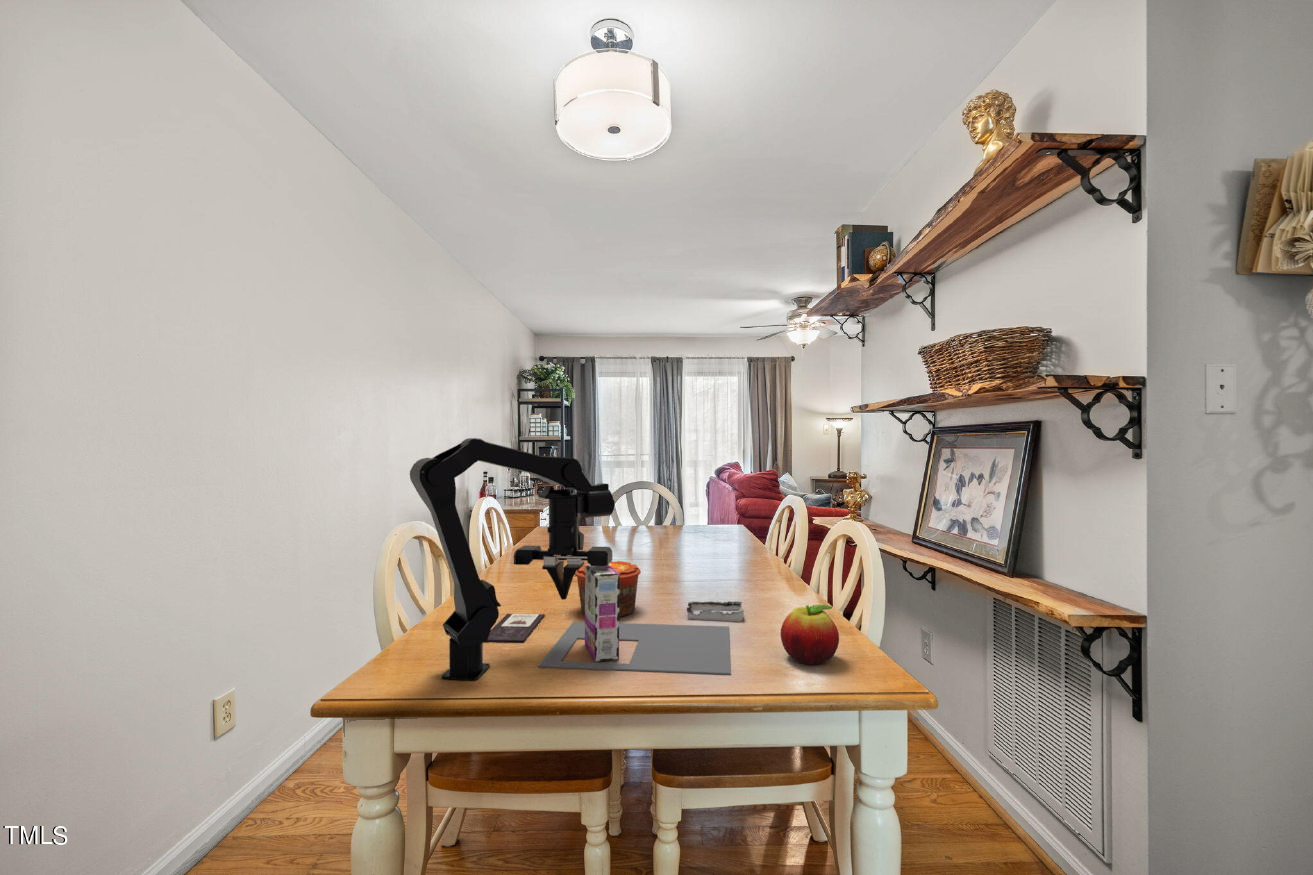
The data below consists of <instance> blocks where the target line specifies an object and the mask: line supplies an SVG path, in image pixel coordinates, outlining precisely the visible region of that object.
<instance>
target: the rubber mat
mask: <svg viewBox="0 0 1313 875" xmlns="http://www.w3.org/2000/svg"><path fill="white" fill-rule="evenodd" d="M577 640H585V621H573V622H571V624H570V625H569V626H568V628H567V629H566V630H565V632H564V633H563V634H562V635H561V636H560V638H559V639H558V640H557V642H555V643H554V645H553V647H552V648H551V649H550V650H549V652H548V653H547V654H546V655H545V657H544V658H543V659H542V660H541V662H539V664H538V665H537V667H538V668H547V669H548V668H549V669H551V668H553V669H574V670H575V669H578V670H597V671H599V670H603V671H622V670H624V671H628V672H646V673H647V672H650V673H651V672H653V673H672V674H673V673H676V674H677V673H678V674H699V675H701V674H703V675H723V676H725V675H727V676H730V675H731V674H732V673H731V653H730V652H731V651H730V650H731V648H730V647H731V646H730V626H729V625H727V626H724V625H699V624H698V625H695V624H692V625H691V624H661V623H660V624H658V623H631V622H629V623H628V622H619V642H621V641H622V642H624V641H625V642H637V644H636V647H635V649H634V652H633V653H632V654H633V655H632V656H631V659H630V661H629V663H621V662H620V663H619V662H618V663H617V662H595V661H593V662H591V661H571V660H570V661H565V660H564V659H565V657H566V655H567V654H568V653H569V652H570V650H571V649H572V648H573V646H574V645H575V643H576V642H577Z"/></svg>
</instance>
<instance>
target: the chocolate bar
mask: <svg viewBox="0 0 1313 875" xmlns="http://www.w3.org/2000/svg"><path fill="white" fill-rule="evenodd" d="M545 617H546V614H544V613H541V614H539V613H507V614H506V615H505V616H504V617H502V618H501V619H500V620H499V621H498V622H497V623H495V624H494V625H493V627H492V628H491V631H490V634H489V637H488V640H487V642H486V643H489V642H494V643H495V642H496V644H498V643H500V644H501V643H502V644H506V643H507V644H509V643H512V644H525V643H526V641H527V640H528V639H529V638H530V636H531V635H532V634H533V632H534V631H535V630H536V628H538V624H541V622H542V621H543V619H544V618H545ZM541 620H542V621H541ZM534 629H535V630H534ZM533 630H534V631H533ZM527 638H528V639H527ZM497 642H498V643H497ZM494 643H493V644H494Z"/></svg>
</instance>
